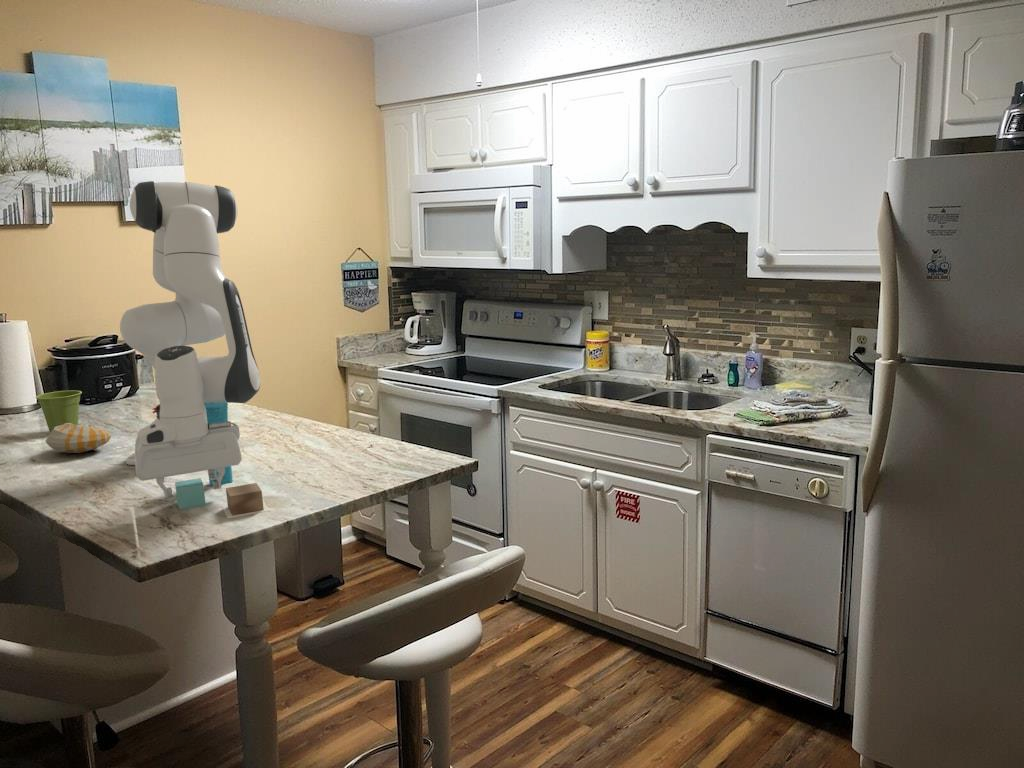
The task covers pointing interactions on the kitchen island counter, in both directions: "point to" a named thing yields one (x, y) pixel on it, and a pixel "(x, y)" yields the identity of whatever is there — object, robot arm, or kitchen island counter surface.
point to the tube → (218, 415)
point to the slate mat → (245, 513)
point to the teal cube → (190, 493)
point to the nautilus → (77, 438)
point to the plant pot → (60, 407)
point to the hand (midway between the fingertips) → (193, 492)
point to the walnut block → (244, 499)
